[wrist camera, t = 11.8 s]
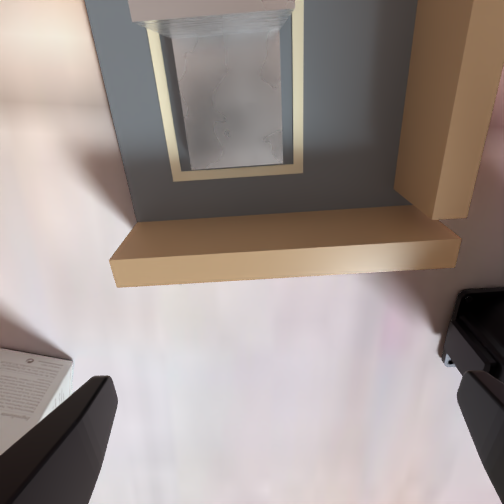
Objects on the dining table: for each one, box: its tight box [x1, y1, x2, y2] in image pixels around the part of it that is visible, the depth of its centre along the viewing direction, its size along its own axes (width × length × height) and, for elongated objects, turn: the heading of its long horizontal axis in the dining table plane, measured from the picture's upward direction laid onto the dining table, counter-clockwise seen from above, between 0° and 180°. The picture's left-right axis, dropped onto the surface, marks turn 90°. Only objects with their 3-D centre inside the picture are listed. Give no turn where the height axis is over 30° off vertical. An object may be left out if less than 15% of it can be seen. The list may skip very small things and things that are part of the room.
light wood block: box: [128, 0, 295, 170], centre depth 13 cm, size 8×4×7 cm, turn 4°
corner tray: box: [85, 0, 504, 288], centre depth 15 cm, size 16×16×5 cm
